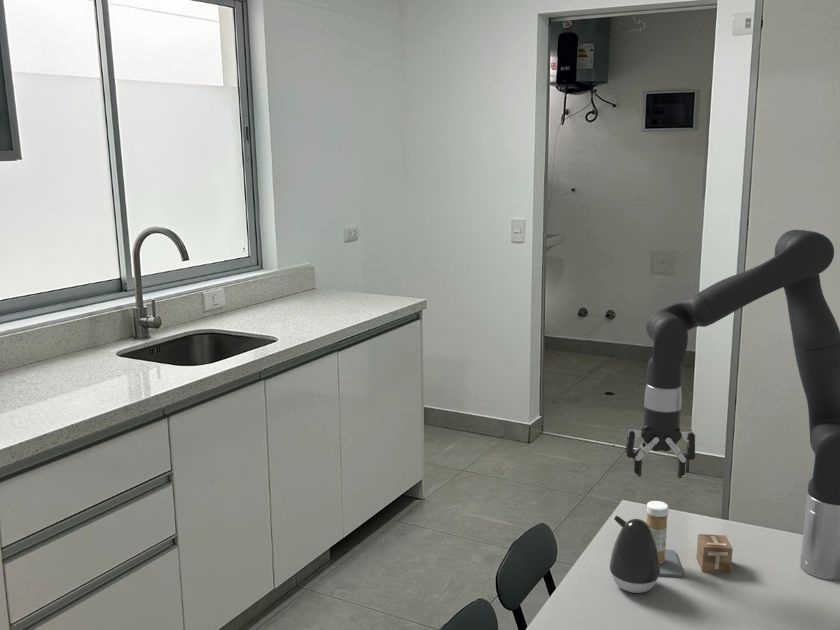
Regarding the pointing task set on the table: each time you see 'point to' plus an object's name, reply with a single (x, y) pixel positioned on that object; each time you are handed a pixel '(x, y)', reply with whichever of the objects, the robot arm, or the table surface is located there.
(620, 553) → the pump dispenser
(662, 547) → the sprinkles bottle
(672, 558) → the blue-grey square plate
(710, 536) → the walnut letter cube
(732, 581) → the table surface
